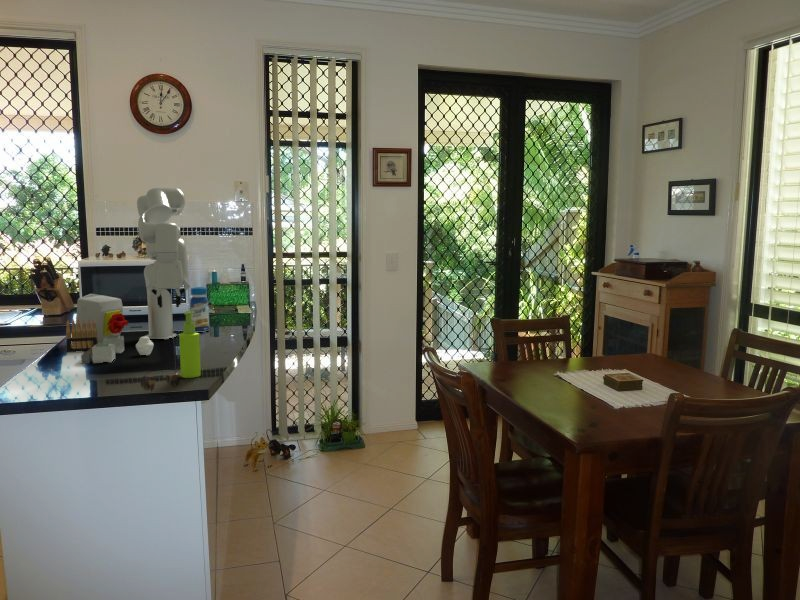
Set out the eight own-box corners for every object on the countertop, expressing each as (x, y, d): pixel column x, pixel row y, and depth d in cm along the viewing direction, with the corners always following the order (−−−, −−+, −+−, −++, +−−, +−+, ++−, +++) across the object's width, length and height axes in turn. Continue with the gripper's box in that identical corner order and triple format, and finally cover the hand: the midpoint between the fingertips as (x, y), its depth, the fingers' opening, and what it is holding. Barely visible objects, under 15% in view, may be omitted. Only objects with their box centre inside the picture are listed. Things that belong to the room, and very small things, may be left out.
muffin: (148, 352, 230) (148, 334, 230) (157, 354, 226) (156, 335, 226) (132, 355, 226) (131, 336, 225) (141, 357, 222) (140, 337, 221)
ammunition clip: (66, 352, 231) (64, 320, 230) (67, 351, 233) (65, 319, 232) (97, 350, 234) (96, 319, 233) (98, 349, 236) (97, 318, 235)
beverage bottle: (213, 330, 283) (211, 286, 281) (205, 333, 274) (203, 288, 272) (195, 330, 284) (193, 286, 282) (187, 333, 275) (185, 288, 273)
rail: (97, 351, 233) (96, 335, 232) (124, 350, 235) (123, 334, 235) (81, 364, 210) (80, 346, 209) (111, 362, 212) (110, 345, 212)
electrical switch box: (107, 351, 244) (111, 301, 241) (74, 344, 246) (77, 295, 244) (130, 345, 258) (134, 298, 255) (98, 338, 261) (102, 292, 258)
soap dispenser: (204, 372, 196) (201, 310, 194) (197, 377, 190) (195, 312, 188) (185, 372, 196) (182, 310, 194) (178, 377, 189) (175, 313, 187)
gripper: (140, 257, 219) (142, 309, 221) (191, 257, 223) (193, 307, 225) (143, 257, 226) (145, 306, 228) (192, 256, 230) (194, 305, 232)
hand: (169, 306), depth 226 cm, fingers open, 5 cm apart
